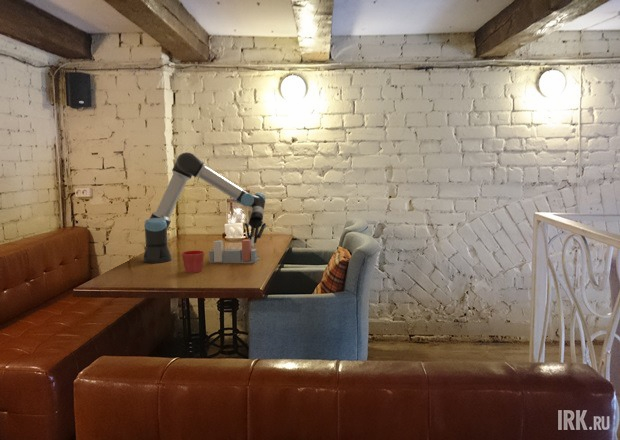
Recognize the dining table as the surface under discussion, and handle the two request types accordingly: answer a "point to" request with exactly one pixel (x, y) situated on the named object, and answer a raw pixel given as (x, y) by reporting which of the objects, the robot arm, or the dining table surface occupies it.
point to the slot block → (234, 256)
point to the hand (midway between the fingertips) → (252, 247)
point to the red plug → (246, 250)
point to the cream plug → (218, 251)
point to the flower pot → (193, 261)
